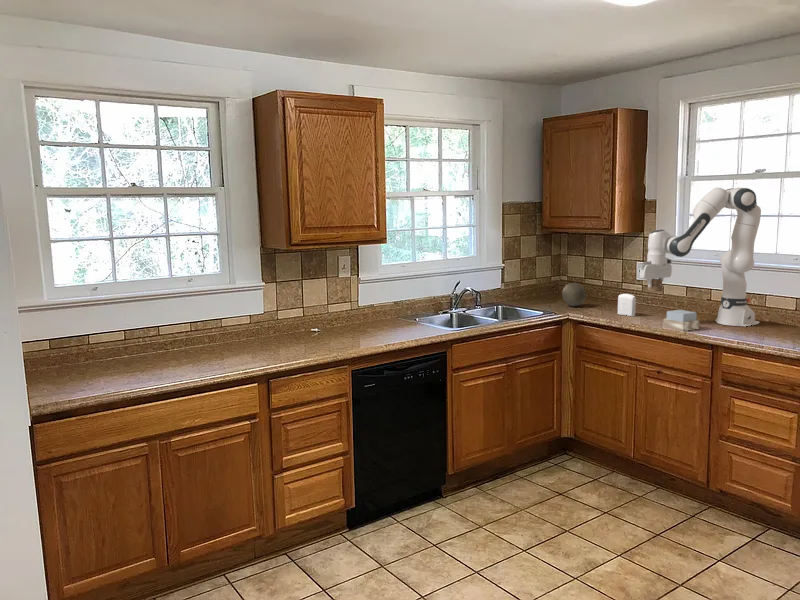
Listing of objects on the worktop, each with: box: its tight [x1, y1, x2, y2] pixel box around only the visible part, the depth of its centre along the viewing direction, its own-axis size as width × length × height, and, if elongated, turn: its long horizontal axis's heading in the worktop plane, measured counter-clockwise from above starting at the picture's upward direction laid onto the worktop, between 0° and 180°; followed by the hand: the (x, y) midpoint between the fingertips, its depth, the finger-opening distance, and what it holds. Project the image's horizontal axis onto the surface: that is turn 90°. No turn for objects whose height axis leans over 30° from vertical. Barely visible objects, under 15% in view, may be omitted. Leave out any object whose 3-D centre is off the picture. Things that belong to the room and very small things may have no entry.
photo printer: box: [617, 293, 637, 317], centre depth 368 cm, size 10×4×12 cm, turn 39°
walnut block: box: [647, 278, 663, 292], centre depth 341 cm, size 5×5×6 cm
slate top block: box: [665, 309, 698, 322], centre depth 329 cm, size 10×10×4 cm
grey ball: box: [561, 282, 587, 308], centre depth 398 cm, size 14×14×15 cm
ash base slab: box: [662, 318, 700, 332], centre depth 330 cm, size 12×12×5 cm
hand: (654, 286), depth 341 cm, fingers closed on walnut block, 5 cm apart
